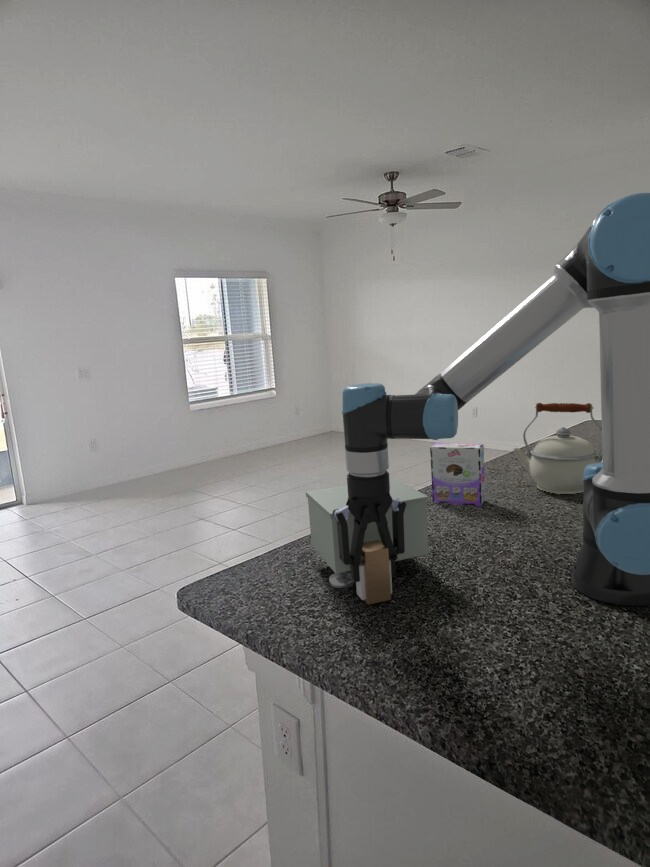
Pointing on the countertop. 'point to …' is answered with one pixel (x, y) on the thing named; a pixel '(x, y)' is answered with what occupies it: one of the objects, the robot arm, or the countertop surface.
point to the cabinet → (336, 498)
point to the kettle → (559, 455)
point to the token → (341, 580)
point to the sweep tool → (376, 571)
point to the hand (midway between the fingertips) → (374, 593)
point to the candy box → (458, 473)
